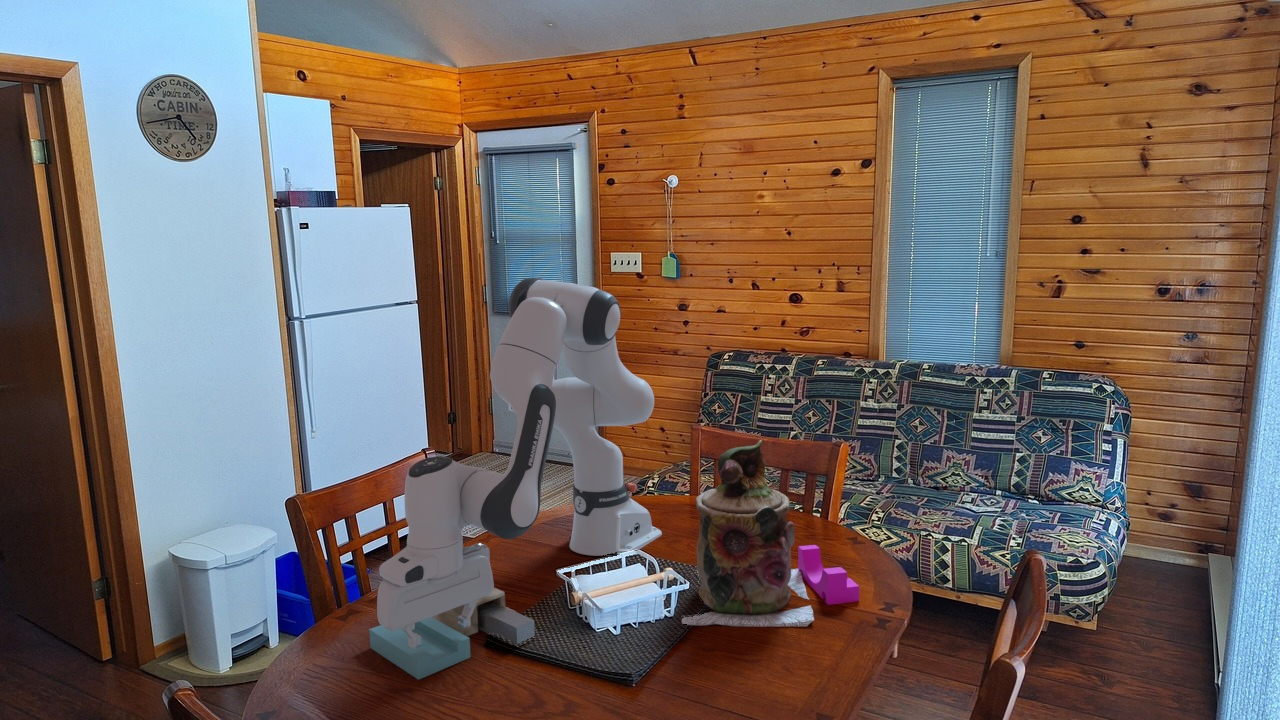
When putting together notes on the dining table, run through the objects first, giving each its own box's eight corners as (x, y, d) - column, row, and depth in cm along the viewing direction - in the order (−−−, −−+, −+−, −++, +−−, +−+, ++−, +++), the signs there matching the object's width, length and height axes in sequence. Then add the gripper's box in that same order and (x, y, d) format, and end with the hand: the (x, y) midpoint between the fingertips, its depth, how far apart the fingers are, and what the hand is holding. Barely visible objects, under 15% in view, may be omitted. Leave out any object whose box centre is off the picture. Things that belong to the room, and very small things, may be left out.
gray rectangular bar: (461, 607, 162) (460, 587, 162) (535, 641, 147) (534, 619, 147) (444, 614, 159) (443, 594, 159) (517, 649, 145) (516, 627, 144)
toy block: (858, 608, 158) (859, 571, 157) (827, 612, 156) (828, 574, 155) (826, 578, 172) (827, 543, 171) (798, 581, 171) (798, 546, 170)
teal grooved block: (420, 628, 152) (419, 610, 152) (470, 657, 141) (469, 637, 141) (370, 648, 145) (369, 629, 145) (418, 679, 134) (417, 659, 134)
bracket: (482, 600, 164) (481, 573, 164) (516, 616, 157) (515, 588, 156) (429, 620, 156) (427, 591, 155) (462, 638, 148) (460, 608, 148)
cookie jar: (683, 576, 174) (681, 427, 170) (801, 577, 172) (802, 427, 168) (679, 630, 150) (677, 458, 146) (817, 632, 148) (818, 458, 144)
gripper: (477, 535, 146) (481, 610, 147) (369, 569, 131) (375, 651, 133) (499, 544, 141) (502, 621, 143) (389, 580, 127) (395, 665, 129)
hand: (440, 636), depth 138 cm, fingers open, 8 cm apart
